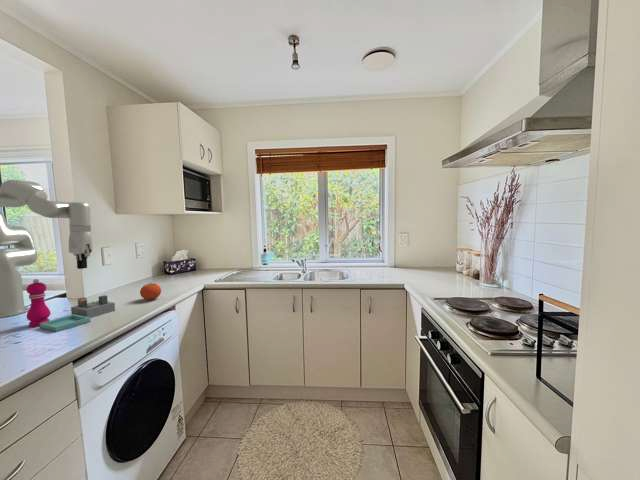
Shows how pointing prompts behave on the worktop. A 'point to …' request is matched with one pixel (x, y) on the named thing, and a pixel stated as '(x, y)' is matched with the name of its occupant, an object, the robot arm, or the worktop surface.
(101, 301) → the block
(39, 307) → the pepper mill
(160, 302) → the worktop surface
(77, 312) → the breaker panel
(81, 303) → the tagged breaker
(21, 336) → the worktop surface
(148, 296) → the tomato
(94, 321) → the worktop surface
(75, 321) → the tray
